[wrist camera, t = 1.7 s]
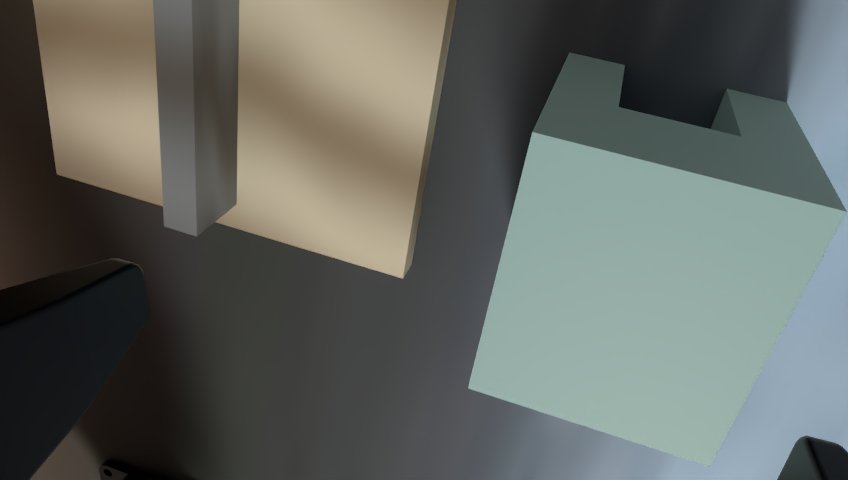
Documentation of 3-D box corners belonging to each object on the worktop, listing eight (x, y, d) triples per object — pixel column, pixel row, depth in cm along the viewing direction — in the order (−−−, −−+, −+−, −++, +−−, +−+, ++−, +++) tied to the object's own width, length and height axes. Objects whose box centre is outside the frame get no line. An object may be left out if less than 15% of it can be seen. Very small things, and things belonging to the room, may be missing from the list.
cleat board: (411, 264, 25) (378, 318, 22) (75, 164, 27) (4, 201, 24) (461, -28, 19) (426, -9, 17) (41, -119, 22) (-55, -116, 19)
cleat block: (695, 307, 22) (709, 466, 16) (515, 255, 23) (467, 388, 17) (786, 102, 19) (846, 211, 13) (569, 52, 20) (532, 131, 14)
